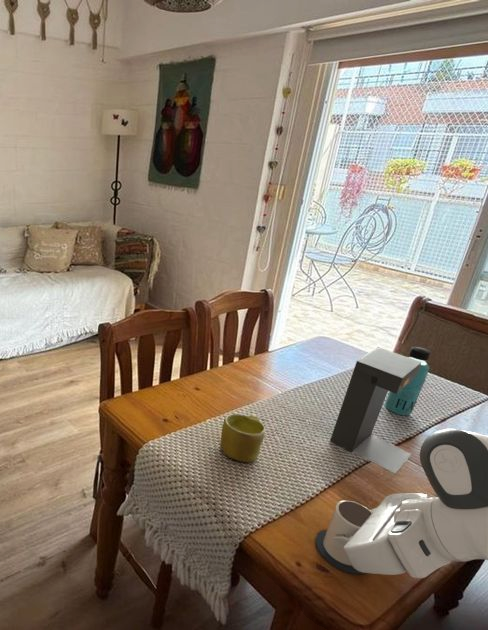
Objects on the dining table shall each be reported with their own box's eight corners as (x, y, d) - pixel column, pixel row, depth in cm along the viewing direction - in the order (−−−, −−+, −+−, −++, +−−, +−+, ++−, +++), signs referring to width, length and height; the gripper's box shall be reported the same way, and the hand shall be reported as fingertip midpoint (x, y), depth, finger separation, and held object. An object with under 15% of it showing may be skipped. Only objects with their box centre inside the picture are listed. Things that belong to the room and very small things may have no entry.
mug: (249, 470, 97) (250, 426, 97) (210, 456, 106) (211, 415, 105) (279, 459, 104) (280, 417, 104) (240, 446, 113) (241, 408, 112)
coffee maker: (411, 457, 106) (449, 371, 96) (392, 478, 99) (431, 389, 89) (349, 427, 116) (377, 346, 106) (328, 444, 109) (356, 360, 99)
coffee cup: (371, 563, 79) (387, 526, 75) (339, 567, 78) (354, 531, 74) (345, 533, 85) (359, 497, 81) (315, 537, 84) (328, 501, 80)
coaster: (382, 571, 78) (383, 569, 78) (337, 577, 77) (338, 575, 76) (345, 528, 86) (346, 526, 86) (304, 533, 85) (305, 532, 85)
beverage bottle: (387, 417, 120) (413, 353, 112) (378, 404, 126) (401, 342, 118) (414, 422, 118) (442, 357, 110) (404, 407, 124) (429, 345, 116)
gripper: (438, 480, 75) (359, 487, 86) (393, 541, 64) (309, 540, 75) (460, 516, 74) (377, 519, 85) (418, 585, 63) (329, 578, 74)
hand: (345, 530), depth 80 cm, fingers closed on coffee cup, 6 cm apart
